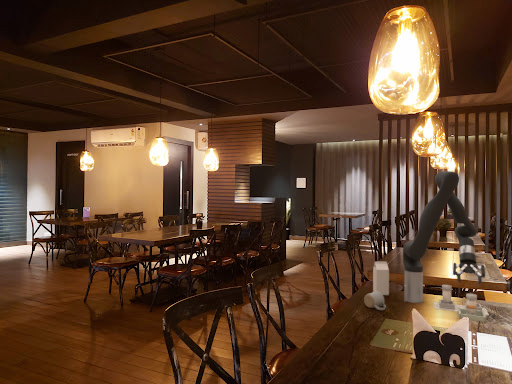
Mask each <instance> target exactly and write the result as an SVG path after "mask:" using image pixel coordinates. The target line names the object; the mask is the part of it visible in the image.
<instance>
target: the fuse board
mask: <svg viewBox="0 0 512 384" xmlns="http://www.w3.org/2000/svg"><path fill="white" fill-rule="evenodd" d="M442 302H443V299H438V302H435V301H434V302H433V309H434V310H442V311H448V312H449V311H451V312H456V313H458V308H462V309H467V301H466V302H464V305H463V304H455V302H454V300H451V303H452V304H448V303H442ZM476 305H477V306H476V310H479V311H484V313H485V315H486V316H490V314H489V312H488V310H487V309H486V307H482V304H481V303H477V302H476Z"/></svg>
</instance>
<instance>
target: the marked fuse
mask: <svg viewBox="0 0 512 384" xmlns="http://www.w3.org/2000/svg"><path fill="white" fill-rule="evenodd" d="M465 298H466V302H467V312H466V314H468V315H476V316H478V315H477V314H476V306H477V305H476V303H477V300H478V295H477V294H475V293H469V292H468V293H466V295H465Z"/></svg>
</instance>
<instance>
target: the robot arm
mask: <svg viewBox="0 0 512 384" xmlns="http://www.w3.org/2000/svg"><path fill="white" fill-rule="evenodd" d="M434 181H435V184H436V186H437V187H438V191H437V193H436V194H435V196H434V197H433V198H432V199H430V201H428V202H427V204H426V205H425V206H424V208H423V210H422V212H421V215H420V217H419V222H418V230H417V233H416V236H415V237H414V239H413V240H408V241H406V242H405V243H404V244H403V247H402V248H403V249H402V260H403V261H402V262H403V267H404V285H403V287H404V288H403V290H404V291H403V295H404V296H403V297H404V298H403V299H404V300H403V303H406V302H407V303H411V304H422V303H423V301H424V299H423V298H424V297H423V296H424V295H423V294H424V291H423V290H424V284H423V283H424V276H423V275H424V267H423V265H422V263H421V260H422V258H423V257H424V256H425V255H426V253H427V252H426V251H427V249H428V246H429V243H430V240H431V238H432V235H433V233H434V231H435V230H436V228H437V226H438V224H439V221H440V220H441V217H442V215H443V212H444V210H445V208H446V207H447V206H448V208H449V210H450V213H451V216H452V219H453V221H454V223H456V224H462V225H458V226H456V227H455V229H454V233H455V236H456V238H457V240H458V245H459V252H458V256H459V263H456V262H453V266H452V275H453V276H456V281H457V282H458V283H461V281H462V278H461V277H462V276H461V275H463V274H464V273H465V274H473V275H474V276H476V277H477V282H478V283H477V284H478V285H481V284H482V283H483V279H485V278H486V270H485V266H484V264H480V265H478V264H477V256H476V249H475V241H474V239H472V238H473V237H476V236H477V234H478V229H477V228H476V226H475V224H474V223H473V222H472V221H471V220H470V218H469V217H468V213H467V212H466V208H465V206H464V205H463V203H462V201H461V200H460V199H459V198H458V196H457V195H456V194H455V190H456V189H457V187H458V185H459V183H460V177H459V173H457V172H456V171H449V170H448V171H447V170H442V171H439V172H437V173H436V175H435V178H434ZM458 268H459V270H457V269H458ZM480 272H481V273H480ZM482 278H483V279H482Z"/></svg>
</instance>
